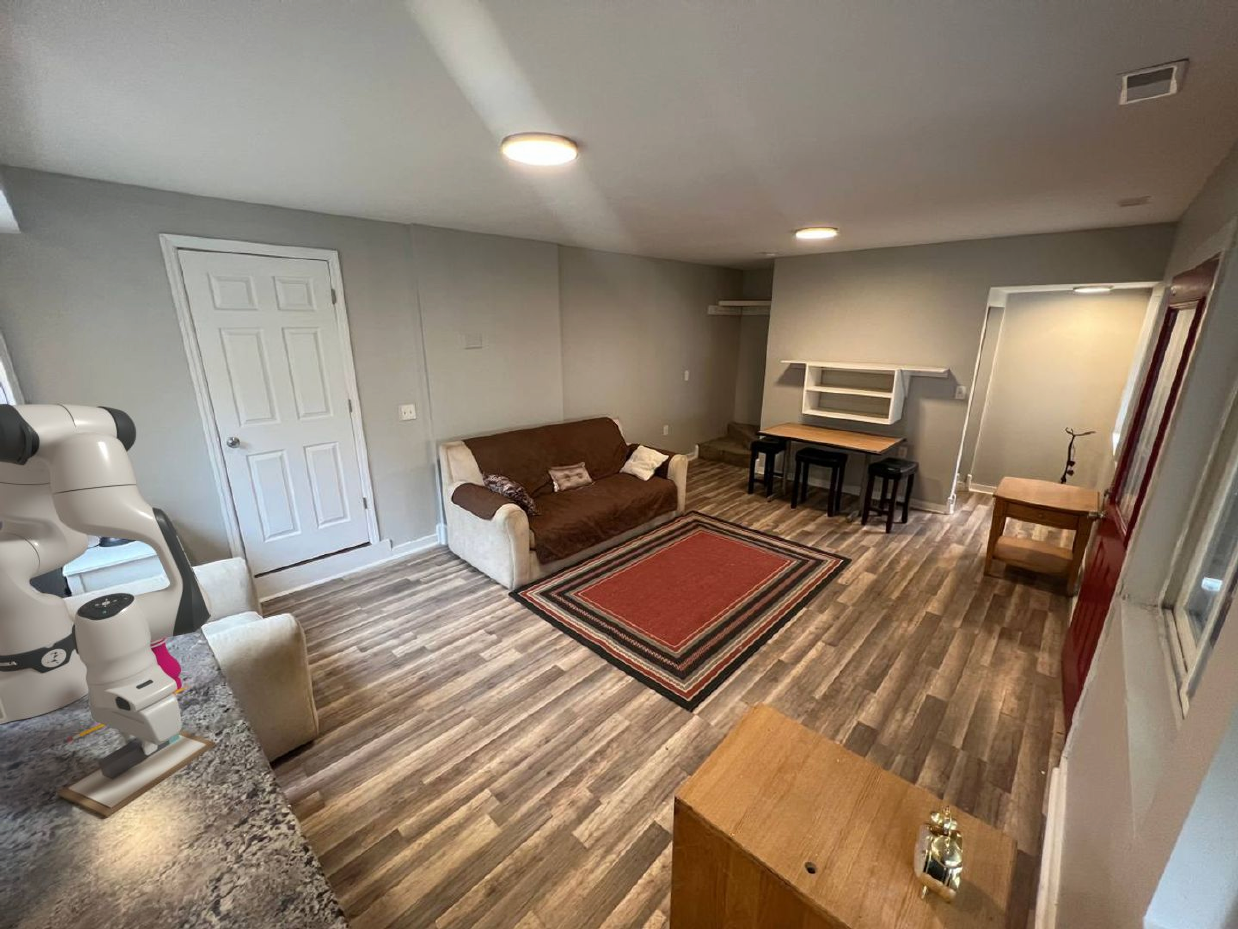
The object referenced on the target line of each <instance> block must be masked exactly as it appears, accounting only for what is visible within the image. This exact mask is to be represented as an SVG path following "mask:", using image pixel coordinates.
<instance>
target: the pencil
mask: <svg viewBox="0 0 1238 929" xmlns="http://www.w3.org/2000/svg"><path fill="white" fill-rule="evenodd" d="M190 687H191V685H189V686H185V687H181V688H180V689H178V690H177V691H176V692H174V695H176V694H178V693H180V692H182V691H184V690H186V689H189V688H190ZM105 726H106V725H103V724H101V723H99V725H96V726H93V727H92V728H90V729H87V730H85V731H83V732H80V733H78V734H76V735H74V736H71V737H69V738H67V742H68V743H69V742H70V743H71V741H75V740H76V739H79V738H81V737H83V736H85V735H87V734H89V733H92V732H93V731H96V730H98V729H100V728H103V727H105Z"/></svg>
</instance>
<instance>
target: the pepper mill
mask: <svg viewBox="0 0 1238 929" xmlns="http://www.w3.org/2000/svg"><path fill="white" fill-rule="evenodd" d="M167 641H168V638H164V639H160V640H157V641H153V642H150V647H151V650H152V652H153V653H154V654H155V656H156V660H157V664H158V665H159V666H160V667H161V669H162V670H163V671H164V672H165V673H166V674H167V675H168V676H169V677H171V678H172V679H173V680H175V682H176V684H177V690H178V689H181V688H183V687H182V685H183V684H182V680H181V678H180V677H179V676H180V674H181V673H182V667H181V665H180V663H179V661H178V660H177V659H176V658H174V657H173V656H172V654H171V653H170V652H169V650H168V648H167V643H166V642H167ZM177 690H176V691H177ZM176 691H175V692H176ZM173 694H174V692H173ZM174 695H175V694H174Z"/></svg>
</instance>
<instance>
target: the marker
mask: <svg viewBox="0 0 1238 929" xmlns="http://www.w3.org/2000/svg"><path fill="white" fill-rule="evenodd" d="M177 739H179V733H178V734H177V735H175V736H174V737H172V738H171V739H169V740H167V741H165V742H164V743H162V744H160V745H157V747H158V748H157V750H155V751H154V752H152V753H151V754H149V755H145V754H143V753H141V750H140V745H142V740H140V738H137V739H135V740H134V741H132V742H130V743H128V744H127V745H126V744H125V745H123V746H122V747H120V748H117V749H116V750H114V751H112V752H110V753H109V754H108V755H106V756H104V757H102V758H101V759H99V760H98V764H99V767H100V768H101V771H102V775H104V776H106V777H108V778H110V779H114V778H116V777H117V776H119V775H121V774H122V773H124V772H125V771H127V770H129V769H130V768H132V767H134V766H135V765H137V764H138V763H140V762H142V761H143V760H145V759H147V758H148V757H150V756H151V755H153V754H155V753H156V752H158V751H160V750H161V749H163V748H164V747H166V746H168V745H169V744H171V743H173V742H174V741H176V740H177Z"/></svg>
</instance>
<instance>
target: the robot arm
mask: <svg viewBox="0 0 1238 929" xmlns="http://www.w3.org/2000/svg"><path fill="white" fill-rule="evenodd" d="M136 440H137V427H136V425H135V422H134V421H133V419H132V417H130V415H129V414H128V413H127V412H125V411H123V410H122V409H117V408H113V407H108V406H102V405H99V406H90V405H82V404H71V403H67V404H66V403H51V404H49V403H46V404H45V403H42V404H38V403H37V404H35V403H32V404H31V403H30V404H29V403H28V404H8V403H0V523H1V524H2V525H1V526H2V527H1V529H0V725H3V724H6V723H9V722H13V721H19V720H25V719H31V718H35V717H38V716H42V715H44V714H47V713H51V712H52V711H53V712H54V711H55V710H58V709H61V708H63V707H65V706H68V705H70V704H72V703H74V702H77V701H78V700H79V699H81V698H84V696H86V695H87V698H88V700H87V701H88V704H89V706H88V707H89V712H90V715H91V717H92V719H93V720H94V721H95V722H96V723H99V724H103V725H105V726H107V727H109V728H111V729H115V730H117V732H118V734H119V735H120V736H121V738H122V739H123V740H124V743H125V745H127V744H128V743H130V742H132V741H134V740H135V739H137V738H140V740H142V745H140V750H141V753H143V754H145V755H149V754H151V753H152V752H154V751H155V750H157V748H158V747H157V745H160V744H162V743H164V742H165V741H167V740H169V739H171V738H172V737H174V736H175V735H177V734H178V733H179V732H180V730H181V731H182V728H183V727H182V725H183V723H182V716H181V710H180V706H179V702H178V699H177V696H176V694H173V692H175V691H176V690H177V684H176V682H175V680H173V679H172V678H171V677H169V676H168V675H167V674H166V673H165V672H164V671H163V670H162V669H161V667H160V666H159V665H158V664H157V660H156V656H155V654H154V653H153V652H152V650H151V647H150V642H153V641H157V640H160V639H164V638H167V639H168V638H171V637H173V638H174V637H177V636H179V637H180V636H183V635H188V634H193V633H196V632H197V631H198V630H200V628H202V627H203V626H204V625H206V623H207V622H208V620H209V619H210V618H211V617H212V614H211V613H212V608H213V607H212V602H211V598H210V596H209V594H208V593H207V591H206V590H205V588H204V586H202V584H201V583H200V582H199V579H198V577H197V574H196V573H195V570H194V568H193V566H192V564H191V562H190V560H189V557H188V555H187V553H186V550H185V548H184V546H183V544H182V542H181V540H180V538H179V536H178V533H177V531H176V529H175V527H174V525H173V523H172V521H171V519H170V518H169V517H168V515H167V514H166V512H165V511H164V510H163V509H161V508H157V507H152V506H151V505H150V504H148V503H147V501H146V500H144V498H143V496H142V495H141V493H140V490H139V488H138V483H137V478H136V475H135V471H134V467H133V465H132V461H131V460H130V456H129V454H128V451H130V450H131V448H132V447H133V446H134V444H135V443H136ZM88 536H93V537H100V538H113V539H123V540H132V541H136V542H140V543H144V544H146V545H148V546H149V547H150V548H152V549H153V550H154V552H155V554H156V556H157V557H158V560H159V561H160V564H161V566H162V568H163V570H164V573H165V575H166V578H167V579H168V582H169V585H168V586H166V587H165V588H161V589H157V590H153V591H148V592H143V593H139V594H134V595H133V594H132V593H128V592H116V593H110V594H105V595H102V596H99V597H97V598H93V599H91V600H89V601H87V602H86V603H84V604H83V605H81V606H79V607H78V609H76V611H75V615H74V616H75V617H74V623H73V624H72V621H71V617H70V613H69V610H68V605H67V603H66V600H65V599H63V598H62V597H60V596H58V595H56V594H51V593H42V592H36V591H35V590H34V589H33V587H32V585H31V583H30V580H31V579H34V578H36V577H39V576H41V575H44V574H47V573H50V572H52V571H55V570H58V569H60V568H63V567H65V566H66V565H68V564H69V563H72V562H73V561H75V560H76V559H78V558H80V557H81V556H83V555H84V554H85V553H86V552H87V550H88V548H89V538H88Z"/></svg>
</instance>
